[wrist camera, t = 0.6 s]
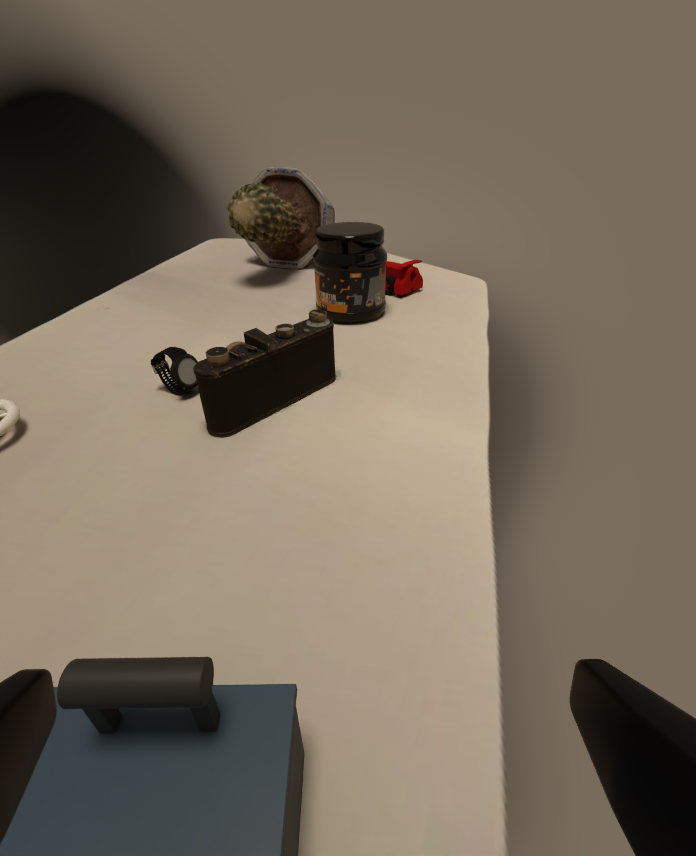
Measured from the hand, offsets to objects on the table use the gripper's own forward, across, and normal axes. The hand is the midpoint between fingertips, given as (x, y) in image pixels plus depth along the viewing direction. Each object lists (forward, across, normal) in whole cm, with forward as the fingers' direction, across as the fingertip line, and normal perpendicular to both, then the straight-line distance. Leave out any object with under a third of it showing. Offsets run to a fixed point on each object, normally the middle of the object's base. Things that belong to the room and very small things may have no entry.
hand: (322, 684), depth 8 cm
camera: (+43, +6, +4) cm, 44 cm away
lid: (+6, +6, +12) cm, 15 cm away
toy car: (+79, -9, -10) cm, 80 cm away
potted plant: (+90, +7, -13) cm, 92 cm away
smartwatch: (+46, +15, +3) cm, 48 cm away
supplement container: (+66, -4, -6) cm, 66 cm away
